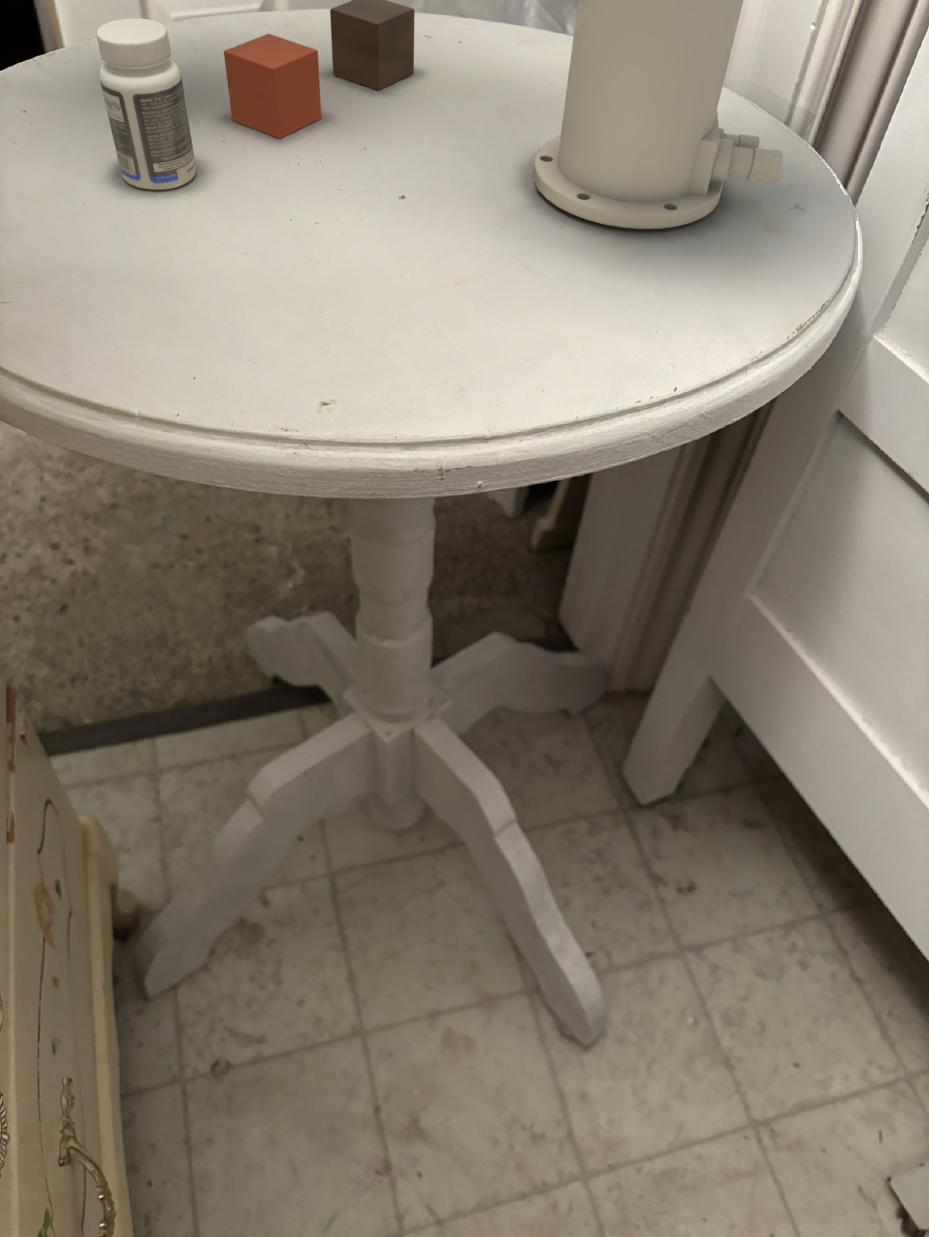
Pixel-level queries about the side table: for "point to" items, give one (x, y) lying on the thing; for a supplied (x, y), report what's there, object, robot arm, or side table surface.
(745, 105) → the side table surface
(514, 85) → the side table surface
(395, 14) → the walnut block
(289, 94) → the terracotta block
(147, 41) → the pill bottle
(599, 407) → the side table surface
